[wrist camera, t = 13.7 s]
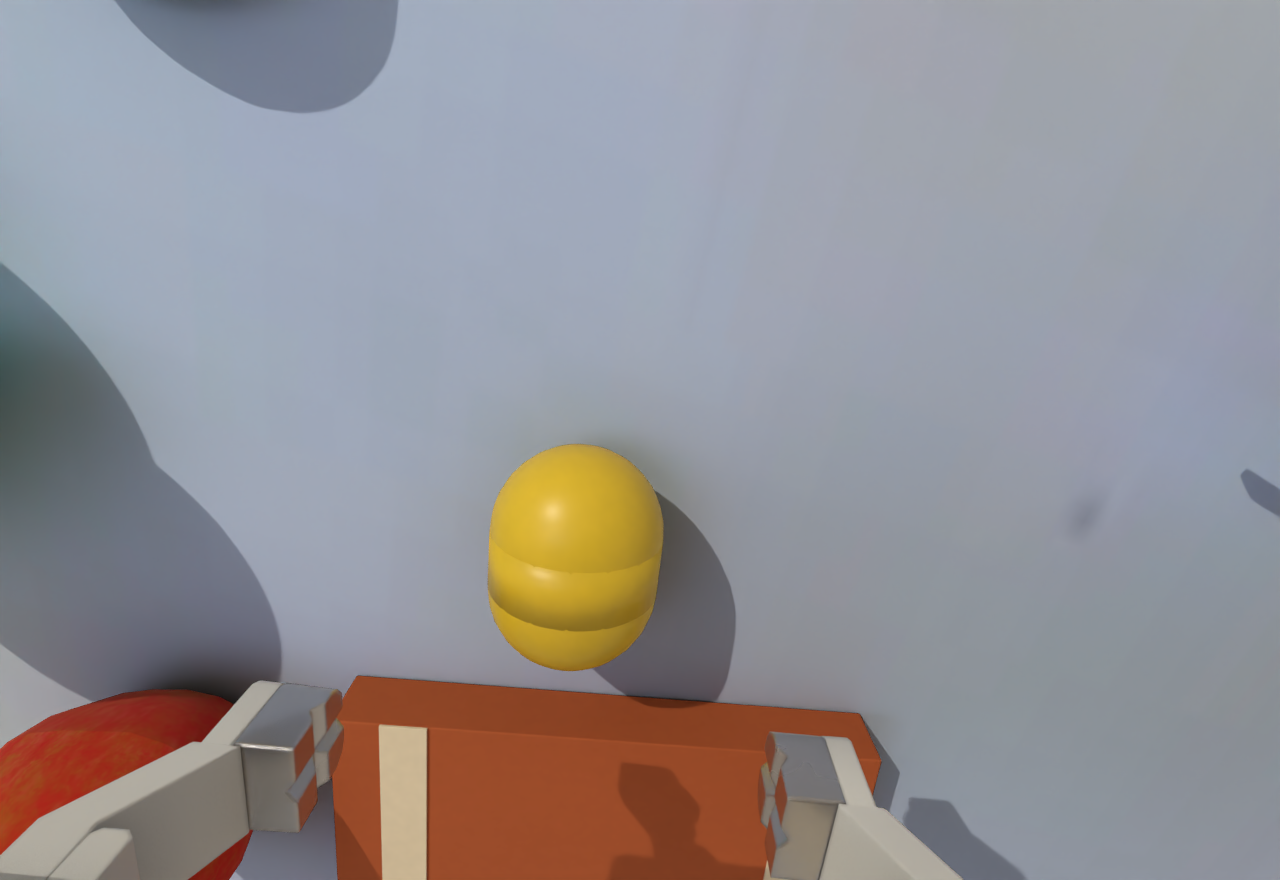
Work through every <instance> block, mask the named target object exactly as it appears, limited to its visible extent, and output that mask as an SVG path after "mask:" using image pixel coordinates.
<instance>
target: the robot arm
mask: <svg viewBox="0 0 1280 880" xmlns="http://www.w3.org/2000/svg"><path fill="white" fill-rule="evenodd" d="M342 708H343V704H342V693H341V692H340V691H339V690H338V689H331V688H323V687H315V686H307V685H299V684H290V683H286V684H284V683H278V682H270V681H262V680H260V681H258V682H255V683H253V684H252V685H251V686H250V687H249V688H248V689H247V690H246V692H245V693H244V694H243V695H242V696H241V697H240V698H239V700H238V701H237V702H236V703H235V704H234V705H233V706H232V708H231V709H230V710H229V711H228V712H227V713H226V715H225V716H224V717H223V718H222V719H221V720H220V721H219V723H218V724H217V725H216V726H215V727H214V728H213V729H212V731H211V732H210V733H209V734H208V735H207V736H206V737H205V739H204V740H203V741H202V742H191V743H189V744H187V745H185V746H183V747H181V748H179V749H177V750H175V751H173V752H171V753H169V754H167V755H165V756H163V757H161V758H159V759H157V760H155V761H153V762H151V763H149V764H147V765H145V766H143V767H141V768H139V769H137V770H135V771H133V772H131V773H129V774H127V775H125V776H123V777H121V778H119V779H117V780H115V781H113V782H111V783H109V784H107V785H105V786H103V787H101V788H98V789H96V790H94V791H92V792H90V793H88V794H86V795H84V796H82V797H80V798H78V799H76V800H74V801H72V802H70V803H68V804H66V805H64V806H62V807H60V808H58V809H56V810H54V811H52V812H50V813H48V814H46V815H44V816H42V817H40V818H38V819H37V820H36V821H35V822H34V823H33V824H32V825H31V826H30V827H29V828H28V829H27V830H26V831H25V832H24V833H23V834H22V835H21V836H20V837H19V838H18V839H16V840H15V841H14V842H13V843H12V844H11V845H10V846H9V847H8V848H7V849H6V850H5V851H4V852H3V853H2V854H1V855H0V880H188V879H189V878H191V877H192V876H193V875H195V874H196V873H197V872H198V871H200V870H201V869H202V868H204V867H205V866H206V865H208V864H209V863H210V862H212V861H213V860H214V859H215V858H217V857H218V856H219V855H221V854H222V853H223V852H225V851H226V850H227V849H229V848H230V847H231V846H232V845H234V844H235V843H236V842H238V841H239V840H240V839H242V838H243V837H244V836H245V835H247V834H248V833H249V830H263V831H279V832H294V833H299V832H300V830H301V829H302V827H303V825H304V823H305V822H306V820H307V818H308V817H309V815H310V813H311V811H312V810H313V808H314V806H315V805H316V803H317V801H318V798H317V788H319V787H320V786H322V785H323V784H325V783H326V782H328V781H329V780H330V779H331V777H332V775H333V773H334V771H335V770H336V768H337V765H338V762H339V759H340V756H341V753H342V749H343V742H344V726H343V725H342V724H341V723H340V721H339V720H338V719H337V718H336V717H337V716H338V714H339V712H340V711H341V709H342ZM765 753H766V758H767V762H766V763H765V764H764V765H762V766H761V768H760V774H759V780H758V810H759V816H760V822H761V823H762V824H763V825H764V826H765V827H766V829H767V833H766V838H765V843H764V844H765V850H766V855H767V861H768V866H769V871H770V877H771V878H778V879H786V880H964V879H963V878H961V877H960V876H959V875H958V874H957V873H956V872H955V871H954V870H953V869H951V868H950V867H949V866H948V865H947V864H946V863H945V862H944V861H943V860H941V859H940V858H939V857H938V856H937V855H936V854H935V853H934V852H933V851H931V850H930V849H929V848H928V847H927V846H926V845H925V844H924V843H923V842H922V841H920V840H919V839H918V838H917V837H916V836H915V835H914V834H913V833H912V832H910V831H909V830H908V829H907V828H906V827H905V826H904V825H903V824H902V823H900V822H899V821H898V820H897V819H896V818H895V817H894V816H893V815H892V814H890V813H889V812H888V811H887V810H886V809H885V808H877V806H876V804H875V801H874V799H873V796H872V793H871V791H870V788H869V786H868V783H867V781H866V778H865V775H864V773H863V770H862V768H861V765H860V763H859V760H858V757H857V755H856V752H855V750H854V747H853V744H852V742H851V741H850V740H849V739H848V738H846V737H833V736H814V735H803V734H792V733H781V732H769V734H768V736H767V739H766V743H765Z"/></svg>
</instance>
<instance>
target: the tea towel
mask: <svg viewBox="0 0 1280 880" xmlns="http://www.w3.org/2000/svg"><path fill="white" fill-rule="evenodd" d="M342 704H343V708H342V709H341V711H340V712H339V714H338V716H337V717H336V718H337V719H338V720H339V721H340V723H341V724H342V725H343V726H344V742H343V749H342V753H341V756H340V759H339V762H338V765H337V768H336V770H335V771H334V773H333V775H332V780H333V799H334V819H335V838H336V857H337V877H338V880H786V879H778V878H771V877H770V871H769V866H768V861H767V855H766V850H765V844H764V843H765V838H766V833H767V829H766V827H765V826H764V825H763V824H762V823H761V822H760V816H759V810H758V780H759V774H760V768H761V766H762V765H764V764H765V763H766V762H767V758H766V753H765V743H766V739H767V736H768V734H769V732H781V733H792V734H803V735H814V736H833V737H846V738H848V739H849V740H850V741H851V742H852V744H853V747H854V750H855V752H856V755H857V757H858V760H859V763H860V765H861V768H862V770H863V773H864V775H865V778H866V781H867V783H868V786H869V788H870V791H871V793H872V796H873V792H874V788H875V784H876V780H877V776H878V772H879V769H880V765H881V759H880V756H879V754H878V752H877V750H876V748H875V746H874V744H873V741H872V739H871V737H870V735H869V733H868V731H867V729H866V726H865V724H864V722H863V720H862V718H861V716H860V714H858V713H845V712H832V711H819V710H805V709H792V708H779V707H766V706H752V705H739V704H726V703H713V702H699V701H686V700H673V699H660V698H646V697H633V696H620V695H607V694H593V693H580V692H567V691H554V690H540V689H527V688H514V687H501V686H487V685H474V684H461V683H448V682H434V681H421V680H408V679H395V678H381V677H368V676H357V677H356V678H355V680H354V681H353V683H352V685H351V686H350V688H349V690H348V691H347V693H346V694H345V696H344V698H343V699H342Z"/></svg>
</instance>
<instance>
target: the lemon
mask: <svg viewBox="0 0 1280 880" xmlns="http://www.w3.org/2000/svg"><path fill="white" fill-rule="evenodd" d="M662 546H663V517H662V512H661V507H660V504H659V501H658V499H657V497H656V494H655V492H654V490H653V487H652V486H651V484H650V483H649V482H648V480H647V479H646V478H645V476H644V475H643V474H642V472H641V471H640V470H639V469H638V468H636V467H635V466H634V465H633V464H632V463H631V462H630V461H628V460H627V459H626V458H624V457H622V456H620V455H618V454H616V453H614V452H612V451H610V450H608V449H605V448H602V447H598V446H593V445H585V444H569V445H562V446H558V447H555V448H552V449H548V450H545V451H543V452H540V453H539V454H537V455H535V456H534V457H532V458H530V459H529V460H527V461H526V462H524V463H523V464H522V465H521V466H520V467H519V468H518V469H517V470H516V471H515V472H514V473H513V474H512V475H511V476H510V477H509V479H508V480H507V482H506V483H505V485H504V486H503V488H502V489H501V491H500V492H499V494H498V497H497V500H496V502H495V505H494V508H493V512H492V518H491V525H490V535H489V561H488V596H489V603H490V608H491V611H492V614H493V617H494V620H495V623H496V624H497V626H498V628H499V630H500V631H501V633H502V634H503V636H504V637H505V639H506V641H507V642H508V643H509V644H510V645H511V646H512V647H513V648H514V649H515V650H517V651H518V652H519V653H520V654H521V655H522V656H524V657H525V658H527V659H528V660H530V661H532V662H534V663H537V664H539V665H541V666H544V667H548V668H551V669H555V670H562V671H578V670H585V669H590V668H594V667H598V666H601V665H603V664H605V663H608V662H610V661H611V660H613V659H614V658H616V657H617V656H619V655H620V654H622V653H623V652H625V651H626V650H627V649H628V648H629V647H630V646H631V645H632V644H633V643H634V642H635V640H636V639H637V638H638V637H639V636H640V635H641V633H642V632H643V630H644V628H645V626H646V624H647V622H648V620H649V618H650V616H651V614H652V611H653V607H654V603H655V599H656V594H657V586H658V578H659V570H660V562H661V554H662Z"/></svg>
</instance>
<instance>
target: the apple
mask: <svg viewBox="0 0 1280 880" xmlns="http://www.w3.org/2000/svg"><path fill="white" fill-rule="evenodd" d="M233 705H234V704H232V703H231V702H229V701H227V700H225V699H223V698H221V697H218V696H214V695H209V694H205V693H201V692H196V691H192V690H160V689H154V690H144V691H136V692H128V693H122V694H119V695H115V696H112V697H109V698H106V699H103V700H99V701H96V702H93V703H90V704H87V705H83V706H80V707H77V708H74V709H71V710H68V711H65V712H62V713H59V714H56V715H53V716H50V717H48V718H47V719H45V720H43V721H42V722H40V723H39V724H37V725H35V726H34V727H32V728H30V729H29V730H27V731H25V732H24V733H22V734H20V735H19V736H17V737H15V738H14V739H12V740H10V741H9V742H7V743H6V744H5V745H4V746H3V747H2V748H1V749H0V855H1V854H2V853H3V852H4V851H5V850H6V849H7V848H8V847H9V846H10V845H11V844H12V843H13V842H14V841H15V840H16V839H18V838H19V837H20V836H21V835H22V834H23V833H24V832H25V831H26V830H27V829H28V828H29V827H30V826H31V825H32V824H33V823H34V822H35V821H36V820H37V819H38V818H40V817H42V816H44V815H46V814H48V813H50V812H52V811H54V810H56V809H58V808H60V807H62V806H64V805H66V804H68V803H70V802H72V801H74V800H76V799H78V798H80V797H82V796H84V795H86V794H88V793H90V792H92V791H94V790H96V789H98V788H101V787H103V786H105V785H107V784H109V783H111V782H113V781H115V780H117V779H119V778H121V777H123V776H125V775H127V774H129V773H131V772H133V771H135V770H137V769H139V768H141V767H143V766H145V765H147V764H149V763H151V762H153V761H155V760H157V759H159V758H161V757H163V756H165V755H167V754H169V753H171V752H173V751H175V750H177V749H179V748H181V747H183V746H185V745H187V744H189V743H191V742H202V741H203V740H204V739H205V737H206V736H207V735H208V734H209V733H210V732H211V731H212V729H213V728H214V727H215V726H216V725H217V724H218V723H219V721H220V720H221V719H222V718H223V717H224V716H225V715H226V713H227V712H228V711H229V710H230V709H231V708H232V706H233ZM252 832H253V830H249V833H248V834H247V835H245V836H244V837H243V838H242V839H240V840H239V841H238V842H236V843H235V844H234V845H232V846H231V847H230V848H229V849H227V850H226V851H225V852H223V853H222V854H221V855H219V856H218V857H217V858H215V859H214V860H213V861H212V862H210V863H209V864H208V865H206V866H205V867H204V868H202V869H201V870H200V871H198V872H197V873H196V874H195V875H193V876H192V877H191V878H189V879H188V880H229V879H230V877H231V876H232V875H233V873H234V872H235V870H236V869H237V867H238V866H239V864H240V863H241V861H242V859H243V856H244V853H245V851H246V848H247V845H248V843H249V840H250V837H251V834H252Z"/></svg>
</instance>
